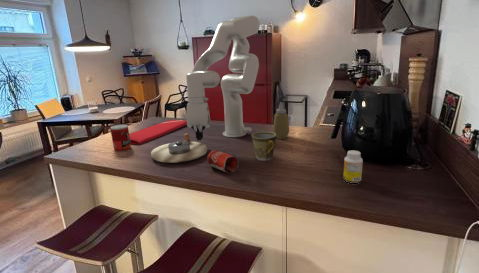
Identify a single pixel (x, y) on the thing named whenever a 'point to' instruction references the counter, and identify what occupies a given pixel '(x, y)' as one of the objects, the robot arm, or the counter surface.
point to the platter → (164, 155)
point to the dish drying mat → (155, 131)
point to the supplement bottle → (353, 167)
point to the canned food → (120, 137)
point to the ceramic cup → (264, 145)
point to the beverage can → (222, 161)
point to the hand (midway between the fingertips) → (199, 139)
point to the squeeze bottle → (281, 123)
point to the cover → (179, 147)
